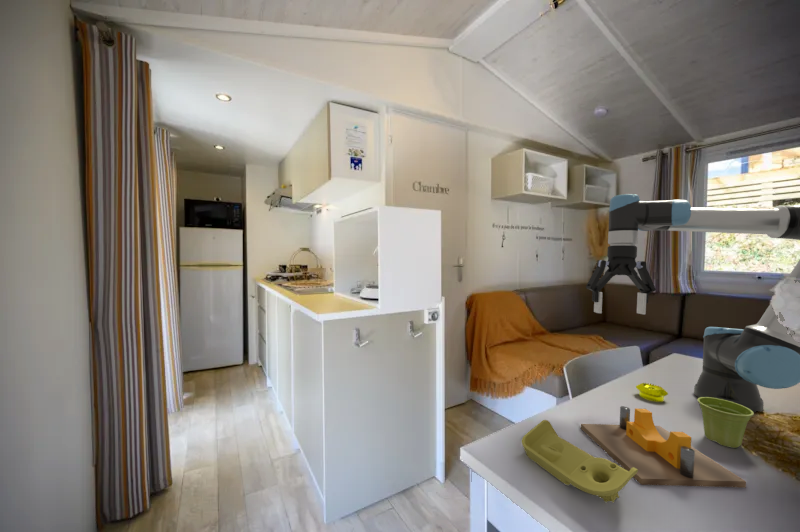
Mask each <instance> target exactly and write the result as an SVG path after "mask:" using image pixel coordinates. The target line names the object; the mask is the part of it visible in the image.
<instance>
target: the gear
mask: <svg viewBox="0 0 800 532" xmlns="http://www.w3.org/2000/svg"><path fill="white" fill-rule="evenodd" d="M635 388H636V389H637V390H638V391H639V394H638V396H639V397H640V398H643V399H645V400H647V401H649V402H650V401H651V402H656V403H663V402H664V401H665V397H666V396H667V395H669V393H668V391H667V390H665V389H664V388H663V387H661V386H659V385H657V384H652V383H649V382H648V383H647V382H642V383H639V384H637V385H636V386H635Z"/></svg>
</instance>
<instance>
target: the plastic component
mask: <svg viewBox="0 0 800 532" xmlns="http://www.w3.org/2000/svg"><path fill="white" fill-rule="evenodd" d="M521 444H522V447H523V449H524V451H525V454H526V456H527V457H528V458H529V459H530V460H531V461H533V462H534V463H535V464H537V466H540V467H541V468H542V469H544V470H545V471H546V472H548V473H549V474H550V475H552V476H553V477H555V478H556V479H557V480H558V481H560V482H561V483H562V484H564V485H565V486H570V485H571V486H572V487H574V488H576V489H578V490H580V491H582V492H585V493H586V494H590V495H593V496H597V497H598V498H599V497H601V499H602V498H603V499H602V500H603V501H604V503H608V502H611V503H615V500H617V499H619V498H620V495H619V492H620V491H621V490H622V489H623V488H625V486H626V485H627V484H628V483H629V481H631V479H632V478H633V476H634V475H635V474H636V473H637V472H638V469H636V468H634V467H633V468H631V469H630V471H627V470H625V469H624V468H623V467H621V466H620V465H619V464H618V463H617V462H612V461H611V460H609V459H606V458H604V457H595V456H594V455H592V454H590V453H588V452H587V451H585V450H583V449H581V448H580V447H578V446H576V445H574V444H572V443H571V442H569V441H567V440H566V439H564V438H562V437H561V436H559V434H558V433H557V432H556V430H555V428H554V427H553V425H552V423H551V422H550V421H549V420H547V419H542V420H541V421H540V422H539V423H538V424H537V425H535V426H534V427H533V428H531V430H529V431H528V432H526V433H525V434H524V435H523V437H522V439H521Z"/></svg>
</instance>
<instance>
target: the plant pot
mask: <svg viewBox="0 0 800 532" xmlns="http://www.w3.org/2000/svg"><path fill="white" fill-rule="evenodd" d="M697 402H698V403H699V408H700V409H701V415H702V421H703V422H702V423H703V431H704V436H705V437H706V438H707V439H708V440H709V441H712V442H716V443H718V444H719V445H721V446H724V447H728V448H734V449H735V448H739V447H741V446H742V443H743V439H744V437H745V436H744V435H745V431H746V429H747V426H748V422H749V421H750V419H751V417H753V416H754V415H755V414H754V413H755V412H753V411H752V410H750V409H749V408H747V407H745V406H742V405H740V404H737V403H734V402H731V401H727V400H723V399H718V398H712V397H700V398H699V397H697Z"/></svg>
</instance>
